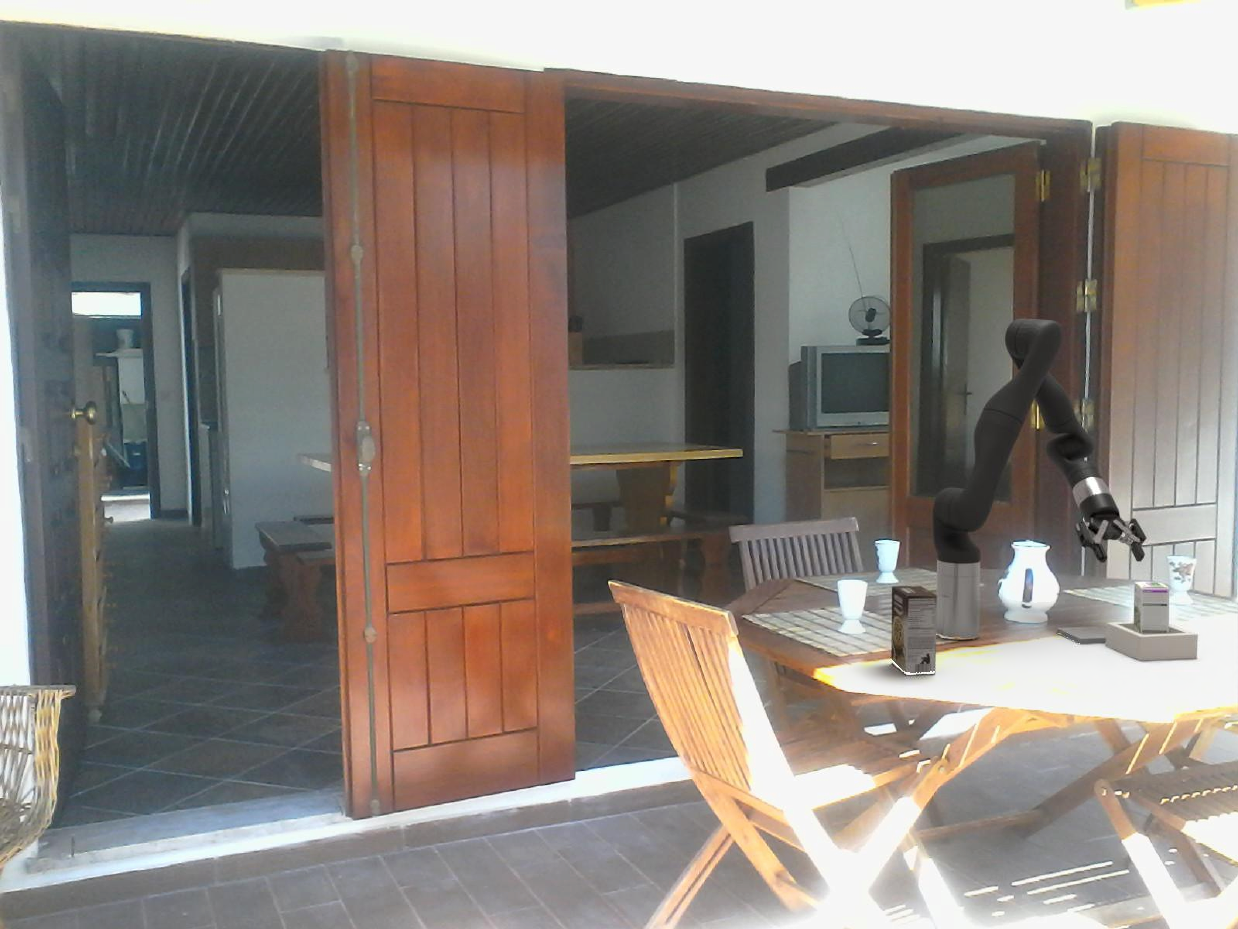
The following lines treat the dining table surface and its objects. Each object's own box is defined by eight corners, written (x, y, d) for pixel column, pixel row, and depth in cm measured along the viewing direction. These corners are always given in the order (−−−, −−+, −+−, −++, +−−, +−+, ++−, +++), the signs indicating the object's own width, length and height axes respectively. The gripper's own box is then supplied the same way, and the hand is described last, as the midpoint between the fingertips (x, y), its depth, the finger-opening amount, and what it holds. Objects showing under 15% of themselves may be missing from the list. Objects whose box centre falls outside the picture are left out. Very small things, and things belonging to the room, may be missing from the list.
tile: (1080, 644, 235) (1080, 638, 235) (1056, 633, 245) (1056, 628, 245) (1123, 642, 236) (1123, 637, 236) (1098, 631, 246) (1098, 626, 246)
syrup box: (1169, 656, 225) (1171, 587, 224) (1138, 654, 226) (1140, 586, 225) (1161, 649, 231) (1163, 581, 229) (1131, 647, 232) (1133, 580, 231)
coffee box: (889, 663, 222) (890, 585, 220) (920, 662, 222) (921, 585, 221) (904, 676, 212) (905, 595, 211) (936, 675, 213) (938, 594, 212)
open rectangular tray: (1139, 660, 222) (1140, 636, 221) (1105, 645, 234) (1106, 622, 233) (1196, 658, 223) (1197, 634, 223) (1159, 643, 235) (1160, 620, 235)
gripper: (1072, 492, 244) (1099, 551, 234) (1131, 490, 246) (1160, 549, 236) (1059, 512, 250) (1085, 571, 240) (1117, 511, 252) (1145, 568, 241)
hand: (1122, 560), depth 238 cm, fingers open, 8 cm apart
